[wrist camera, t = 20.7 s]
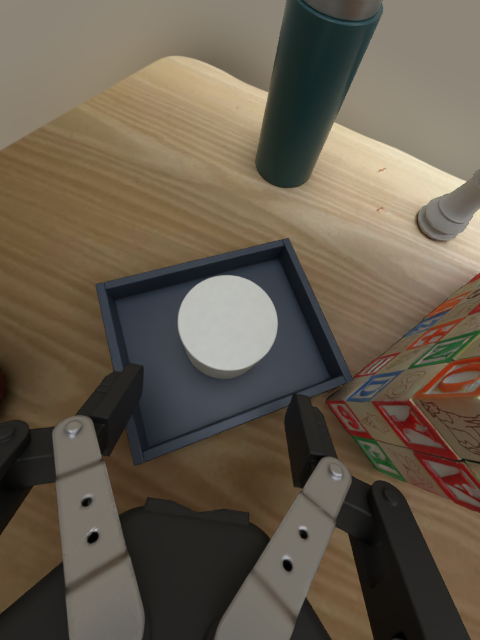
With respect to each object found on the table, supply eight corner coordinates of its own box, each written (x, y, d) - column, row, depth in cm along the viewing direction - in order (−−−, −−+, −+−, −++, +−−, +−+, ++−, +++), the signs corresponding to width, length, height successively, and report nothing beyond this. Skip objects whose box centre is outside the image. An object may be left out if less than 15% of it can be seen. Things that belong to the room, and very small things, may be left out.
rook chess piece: (413, 203, 28) (490, 128, 20) (452, 212, 28) (542, 141, 20) (416, 238, 26) (499, 170, 19) (457, 247, 27) (556, 184, 19)
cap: (197, 390, 19) (193, 385, 14) (175, 315, 20) (165, 288, 16) (273, 364, 20) (293, 351, 15) (246, 295, 22) (257, 264, 17)
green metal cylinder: (267, 192, 26) (321, 0, 14) (247, 148, 27) (279, -60, 15) (320, 182, 27) (412, -2, 15) (297, 140, 29) (365, -58, 16)
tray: (143, 458, 17) (133, 466, 15) (107, 297, 21) (94, 283, 18) (337, 383, 21) (354, 380, 18) (280, 254, 24) (288, 237, 21)
